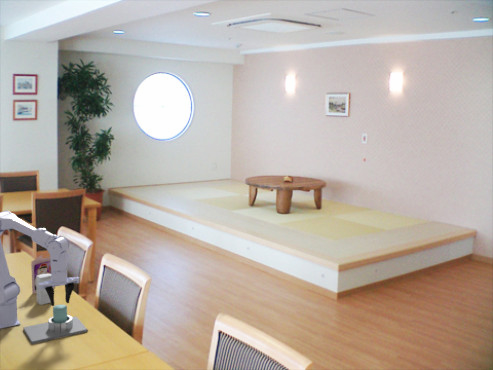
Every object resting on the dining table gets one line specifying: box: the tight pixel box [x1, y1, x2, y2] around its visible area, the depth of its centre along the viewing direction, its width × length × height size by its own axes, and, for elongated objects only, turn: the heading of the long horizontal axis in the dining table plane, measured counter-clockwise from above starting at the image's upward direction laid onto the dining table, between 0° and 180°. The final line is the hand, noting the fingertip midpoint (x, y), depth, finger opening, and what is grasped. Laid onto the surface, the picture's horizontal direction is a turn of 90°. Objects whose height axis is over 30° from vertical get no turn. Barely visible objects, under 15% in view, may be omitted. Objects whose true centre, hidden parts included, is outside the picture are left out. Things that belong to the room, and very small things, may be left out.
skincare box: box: [36, 273, 55, 306], centre depth 226 cm, size 6×4×12 cm
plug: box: [52, 304, 68, 323], centre depth 200 cm, size 5×5×8 cm
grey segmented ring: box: [47, 314, 73, 332], centre depth 201 cm, size 9×9×3 cm
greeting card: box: [30, 254, 56, 295], centre depth 241 cm, size 11×7×15 cm, turn 143°
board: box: [23, 315, 88, 345], centre depth 200 cm, size 20×14×1 cm
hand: (60, 303), depth 199 cm, fingers open, 5 cm apart
